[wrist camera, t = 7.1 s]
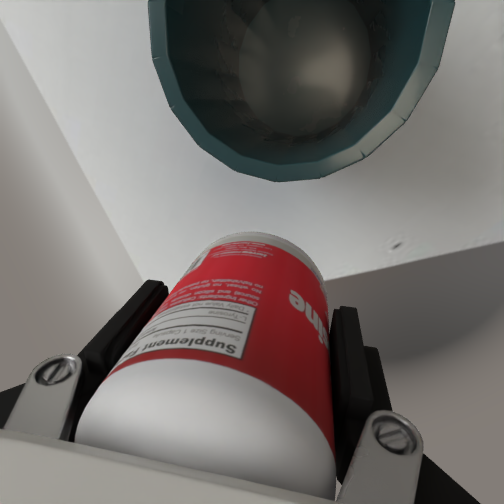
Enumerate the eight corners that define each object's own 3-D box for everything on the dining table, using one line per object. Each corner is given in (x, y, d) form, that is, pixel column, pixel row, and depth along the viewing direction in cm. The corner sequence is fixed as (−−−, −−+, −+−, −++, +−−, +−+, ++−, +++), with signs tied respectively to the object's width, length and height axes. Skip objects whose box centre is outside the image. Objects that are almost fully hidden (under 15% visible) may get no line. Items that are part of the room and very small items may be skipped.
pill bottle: (328, 346, 15) (347, 800, 5) (205, 342, 16) (40, 701, 7) (326, 222, 13) (355, 661, 3) (180, 229, 14) (-146, 545, 4)
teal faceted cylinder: (202, 74, 27) (98, 50, 14) (306, -71, 22) (291, -316, 9) (299, 173, 29) (286, 230, 16) (414, 59, 24) (529, 10, 11)
